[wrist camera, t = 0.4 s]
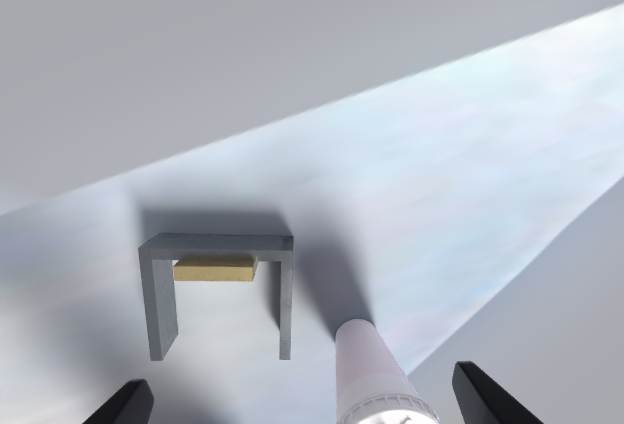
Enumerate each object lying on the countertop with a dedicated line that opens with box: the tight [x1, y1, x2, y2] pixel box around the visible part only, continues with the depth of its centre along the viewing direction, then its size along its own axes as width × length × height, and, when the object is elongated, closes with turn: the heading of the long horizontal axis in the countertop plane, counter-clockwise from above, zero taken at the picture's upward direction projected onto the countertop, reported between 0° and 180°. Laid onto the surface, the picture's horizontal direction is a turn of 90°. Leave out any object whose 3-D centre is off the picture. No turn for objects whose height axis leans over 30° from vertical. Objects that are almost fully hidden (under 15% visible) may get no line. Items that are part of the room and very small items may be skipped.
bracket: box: [138, 234, 293, 361], centre depth 22 cm, size 9×10×4 cm
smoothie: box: [335, 319, 440, 424], centre depth 19 cm, size 6×6×14 cm
